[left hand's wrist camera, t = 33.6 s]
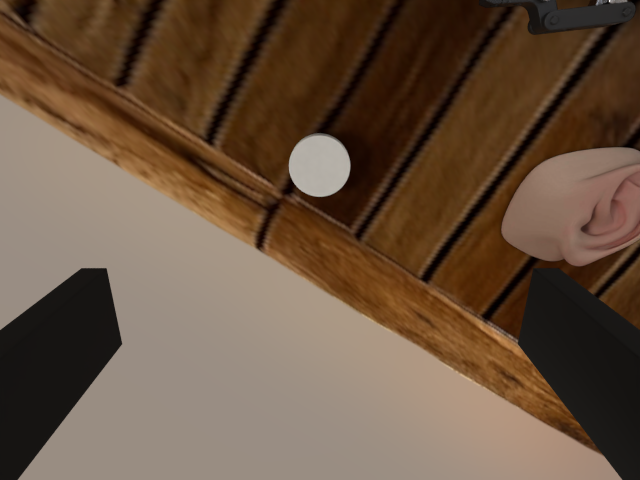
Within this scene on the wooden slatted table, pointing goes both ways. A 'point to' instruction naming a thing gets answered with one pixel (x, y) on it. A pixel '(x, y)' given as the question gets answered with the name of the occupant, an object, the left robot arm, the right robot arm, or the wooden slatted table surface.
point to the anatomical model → (577, 206)
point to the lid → (319, 165)
